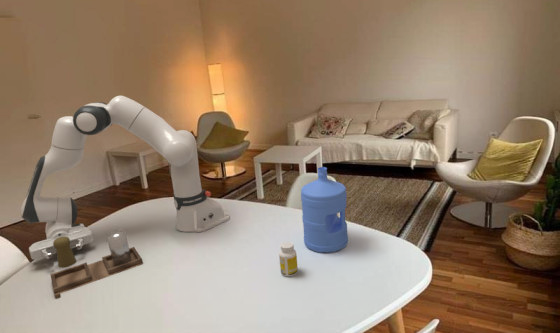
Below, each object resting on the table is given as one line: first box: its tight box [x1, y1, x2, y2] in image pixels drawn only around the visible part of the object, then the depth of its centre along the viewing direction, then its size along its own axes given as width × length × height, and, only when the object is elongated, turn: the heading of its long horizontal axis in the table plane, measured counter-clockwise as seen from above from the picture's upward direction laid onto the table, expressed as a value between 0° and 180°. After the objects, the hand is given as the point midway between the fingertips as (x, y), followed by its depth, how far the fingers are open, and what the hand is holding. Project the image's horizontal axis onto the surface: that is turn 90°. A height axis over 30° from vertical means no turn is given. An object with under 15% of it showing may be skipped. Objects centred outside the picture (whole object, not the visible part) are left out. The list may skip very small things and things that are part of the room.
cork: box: [53, 236, 77, 269], centre depth 136 cm, size 6×6×11 cm
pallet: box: [50, 246, 144, 299], centre depth 131 cm, size 27×13×3 cm, turn 123°
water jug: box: [300, 166, 349, 253], centre depth 135 cm, size 16×16×28 cm
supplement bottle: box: [278, 241, 299, 277], centre depth 121 cm, size 5×5×10 cm
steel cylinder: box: [106, 228, 132, 266], centre depth 134 cm, size 6×6×11 cm
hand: (64, 251), depth 136 cm, fingers open, 8 cm apart
